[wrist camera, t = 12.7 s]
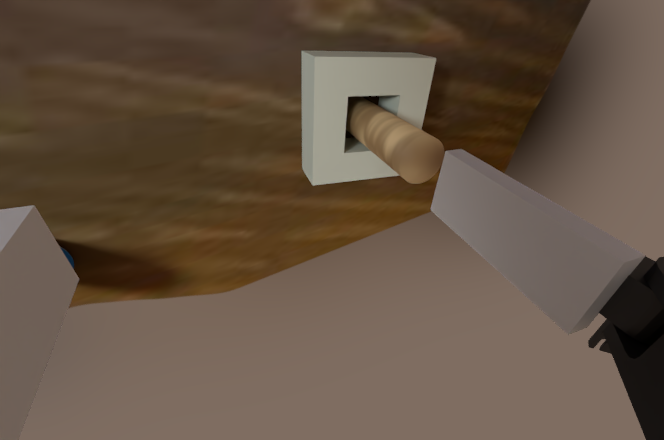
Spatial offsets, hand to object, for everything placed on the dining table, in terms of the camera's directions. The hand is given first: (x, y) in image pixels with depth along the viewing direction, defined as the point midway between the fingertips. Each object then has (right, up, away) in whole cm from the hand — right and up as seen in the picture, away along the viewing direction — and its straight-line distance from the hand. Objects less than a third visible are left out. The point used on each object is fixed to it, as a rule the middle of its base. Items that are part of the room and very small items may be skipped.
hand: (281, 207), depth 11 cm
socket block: (+5, +13, +29) cm, 33 cm away
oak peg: (+5, +13, +29) cm, 33 cm away
